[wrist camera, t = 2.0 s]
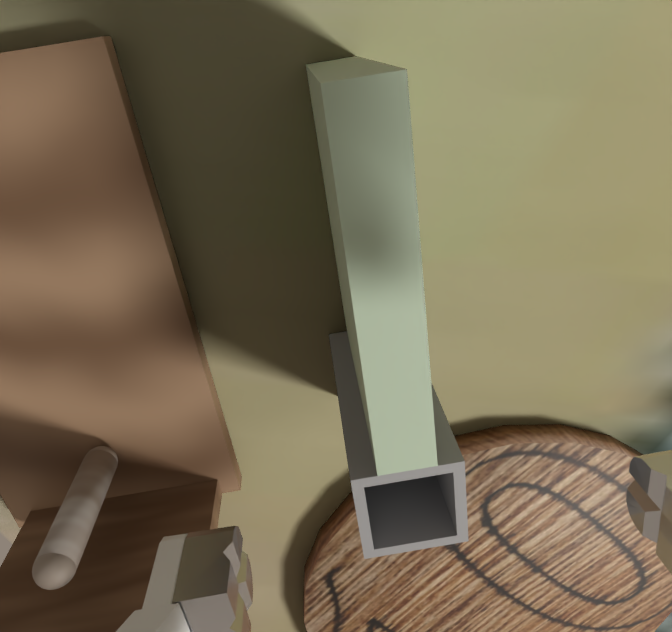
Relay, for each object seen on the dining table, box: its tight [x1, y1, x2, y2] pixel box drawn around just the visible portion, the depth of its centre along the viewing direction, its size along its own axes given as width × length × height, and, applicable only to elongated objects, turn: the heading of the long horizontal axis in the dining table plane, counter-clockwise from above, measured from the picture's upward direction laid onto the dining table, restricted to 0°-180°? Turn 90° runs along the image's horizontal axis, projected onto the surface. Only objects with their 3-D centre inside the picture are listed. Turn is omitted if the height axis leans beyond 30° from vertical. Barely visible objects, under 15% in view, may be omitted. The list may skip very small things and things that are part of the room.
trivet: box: [303, 424, 672, 632], centre depth 36 cm, size 25×25×2 cm
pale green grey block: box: [306, 56, 469, 559], centre depth 21 cm, size 16×4×10 cm, turn 8°
